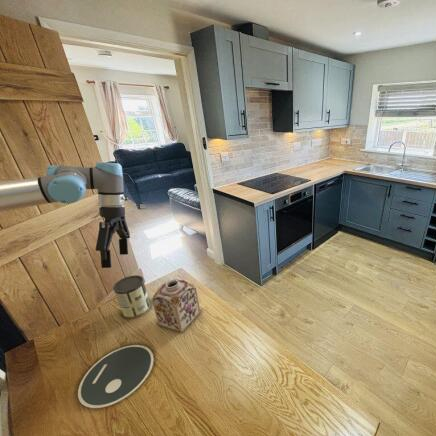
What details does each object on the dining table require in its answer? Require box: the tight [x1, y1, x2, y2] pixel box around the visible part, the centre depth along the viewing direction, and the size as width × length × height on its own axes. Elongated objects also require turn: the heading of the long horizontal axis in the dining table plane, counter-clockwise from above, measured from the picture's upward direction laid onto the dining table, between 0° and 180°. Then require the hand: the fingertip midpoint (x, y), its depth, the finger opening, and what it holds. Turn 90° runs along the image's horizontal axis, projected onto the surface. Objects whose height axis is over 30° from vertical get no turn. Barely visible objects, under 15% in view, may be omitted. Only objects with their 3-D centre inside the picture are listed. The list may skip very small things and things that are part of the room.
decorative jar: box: [151, 278, 201, 333], centre depth 94 cm, size 12×12×18 cm
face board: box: [77, 344, 154, 409], centre depth 76 cm, size 20×20×1 cm
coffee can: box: [112, 274, 151, 319], centre depth 98 cm, size 10×10×14 cm
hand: (115, 260), depth 91 cm, fingers open, 13 cm apart
